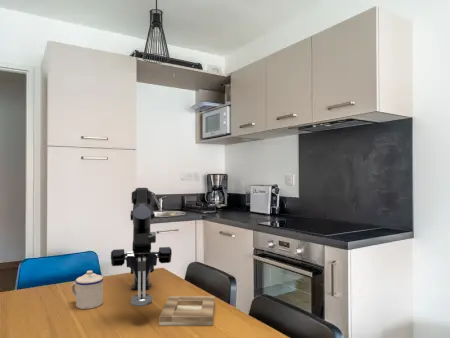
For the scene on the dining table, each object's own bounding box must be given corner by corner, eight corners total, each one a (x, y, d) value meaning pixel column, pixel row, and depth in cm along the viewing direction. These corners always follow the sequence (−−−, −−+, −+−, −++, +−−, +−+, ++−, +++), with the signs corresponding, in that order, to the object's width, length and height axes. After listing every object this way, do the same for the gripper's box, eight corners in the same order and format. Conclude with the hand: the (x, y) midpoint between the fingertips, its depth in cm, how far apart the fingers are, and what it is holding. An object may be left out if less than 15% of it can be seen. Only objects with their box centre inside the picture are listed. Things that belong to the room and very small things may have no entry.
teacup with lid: (108, 301, 123) (108, 268, 123) (91, 311, 114) (91, 275, 114) (80, 297, 126) (80, 266, 126) (62, 307, 117) (62, 272, 118)
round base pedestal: (131, 299, 108) (131, 255, 109) (151, 297, 110) (152, 253, 110) (130, 307, 102) (130, 259, 102) (152, 305, 104) (152, 258, 104)
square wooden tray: (169, 303, 121) (169, 295, 121) (214, 303, 121) (214, 296, 121) (159, 325, 103) (159, 317, 103) (212, 325, 103) (212, 317, 103)
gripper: (111, 224, 108) (107, 268, 97) (171, 222, 112) (174, 264, 102) (113, 244, 116) (110, 287, 105) (169, 241, 120) (171, 283, 109)
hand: (141, 280), depth 105 cm, fingers closed on round base pedestal, 2 cm apart
